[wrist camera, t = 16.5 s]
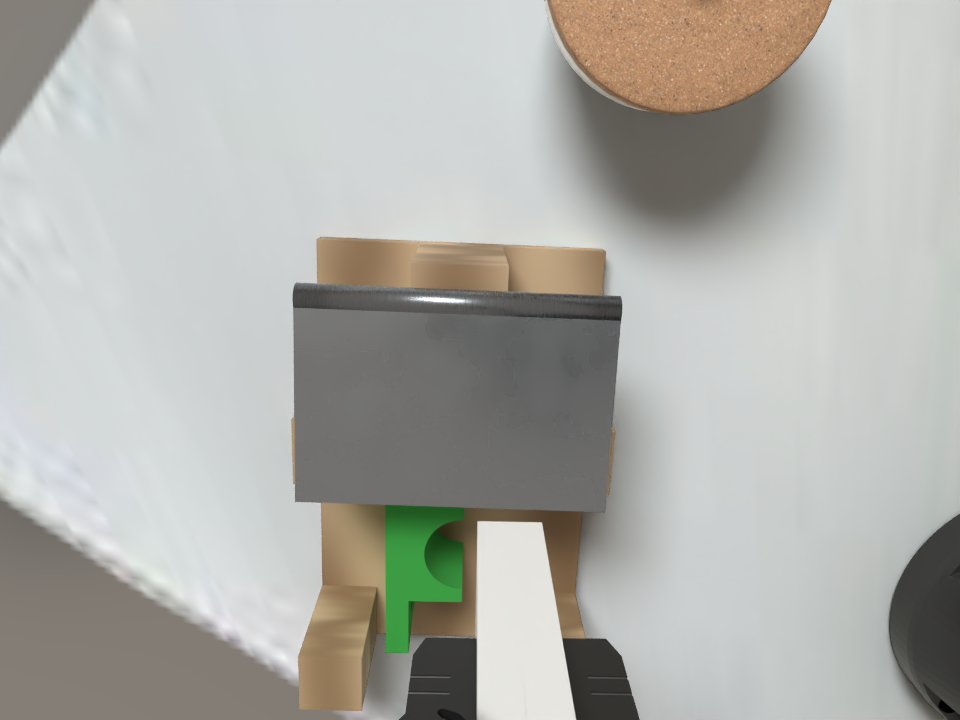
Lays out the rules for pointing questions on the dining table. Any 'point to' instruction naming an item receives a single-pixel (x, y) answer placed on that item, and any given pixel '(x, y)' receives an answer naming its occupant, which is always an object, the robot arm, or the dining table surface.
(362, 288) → the plate
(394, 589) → the pipe clamp
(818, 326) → the dining table surface
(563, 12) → the lidded jar
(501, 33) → the dining table surface
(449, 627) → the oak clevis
